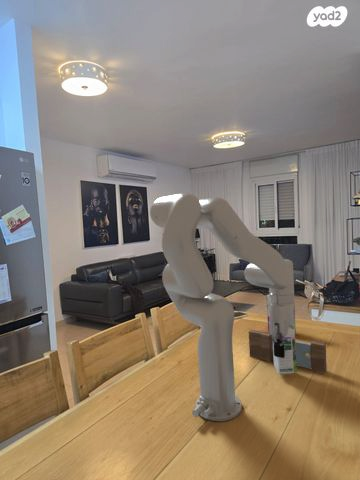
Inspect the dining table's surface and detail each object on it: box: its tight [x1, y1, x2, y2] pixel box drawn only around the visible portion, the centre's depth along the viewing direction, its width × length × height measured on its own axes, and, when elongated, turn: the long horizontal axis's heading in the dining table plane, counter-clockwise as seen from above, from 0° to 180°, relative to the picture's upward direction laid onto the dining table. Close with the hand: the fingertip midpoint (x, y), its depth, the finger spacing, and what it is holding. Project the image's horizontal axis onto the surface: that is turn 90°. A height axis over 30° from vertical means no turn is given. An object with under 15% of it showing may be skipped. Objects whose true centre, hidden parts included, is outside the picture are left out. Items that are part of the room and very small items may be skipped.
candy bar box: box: [266, 294, 297, 335], centre depth 137 cm, size 11×5×16 cm, turn 37°
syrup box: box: [273, 325, 298, 375], centre depth 101 cm, size 6×6×14 cm
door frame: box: [248, 329, 328, 375], centre depth 109 cm, size 3×26×10 cm, turn 53°
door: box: [272, 340, 312, 369], centre depth 108 cm, size 2×13×9 cm, turn 52°
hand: (284, 351), depth 101 cm, fingers closed on syrup box, 7 cm apart
